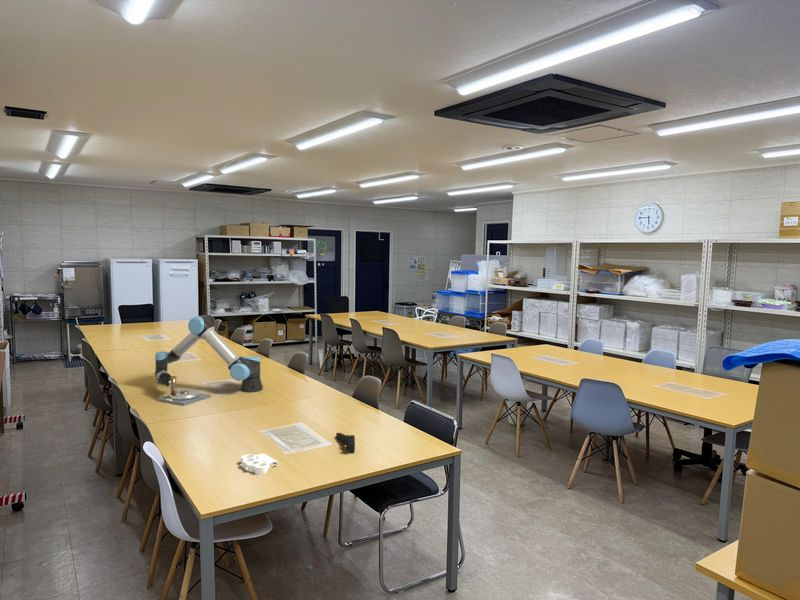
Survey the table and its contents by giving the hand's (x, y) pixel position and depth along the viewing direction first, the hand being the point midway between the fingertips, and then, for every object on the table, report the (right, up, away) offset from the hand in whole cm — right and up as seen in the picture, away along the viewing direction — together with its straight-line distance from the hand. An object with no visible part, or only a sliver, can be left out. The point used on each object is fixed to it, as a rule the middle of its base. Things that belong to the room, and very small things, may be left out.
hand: (171, 385), depth 337 cm
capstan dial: (+6, -8, +5) cm, 11 cm away
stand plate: (+6, -10, +5) cm, 13 cm away
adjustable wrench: (+118, -19, -72) cm, 140 cm away
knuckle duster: (+82, -21, -100) cm, 131 cm away
